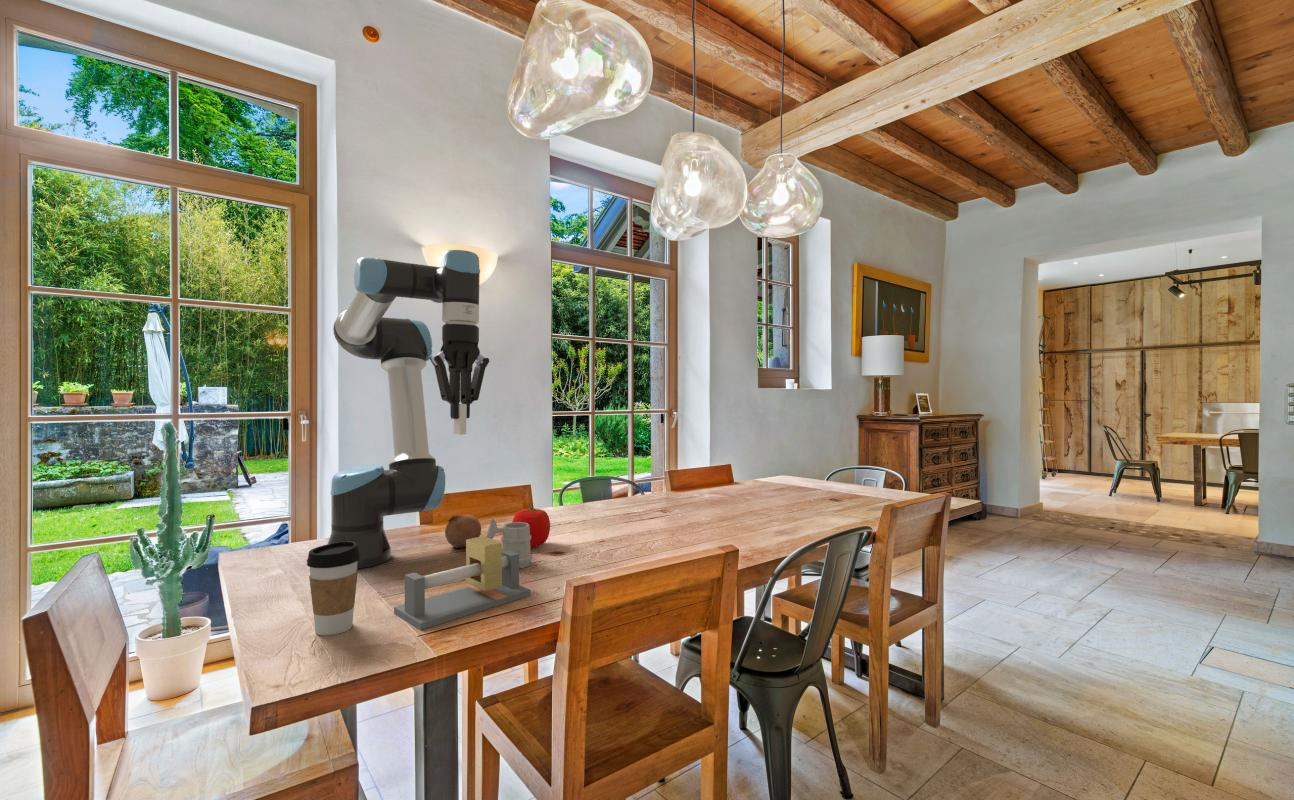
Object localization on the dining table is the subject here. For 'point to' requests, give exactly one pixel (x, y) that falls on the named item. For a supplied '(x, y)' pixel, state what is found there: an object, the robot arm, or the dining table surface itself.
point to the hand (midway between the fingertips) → (460, 433)
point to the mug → (514, 539)
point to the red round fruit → (535, 524)
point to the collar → (485, 562)
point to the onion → (462, 530)
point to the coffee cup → (333, 586)
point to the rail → (458, 594)
